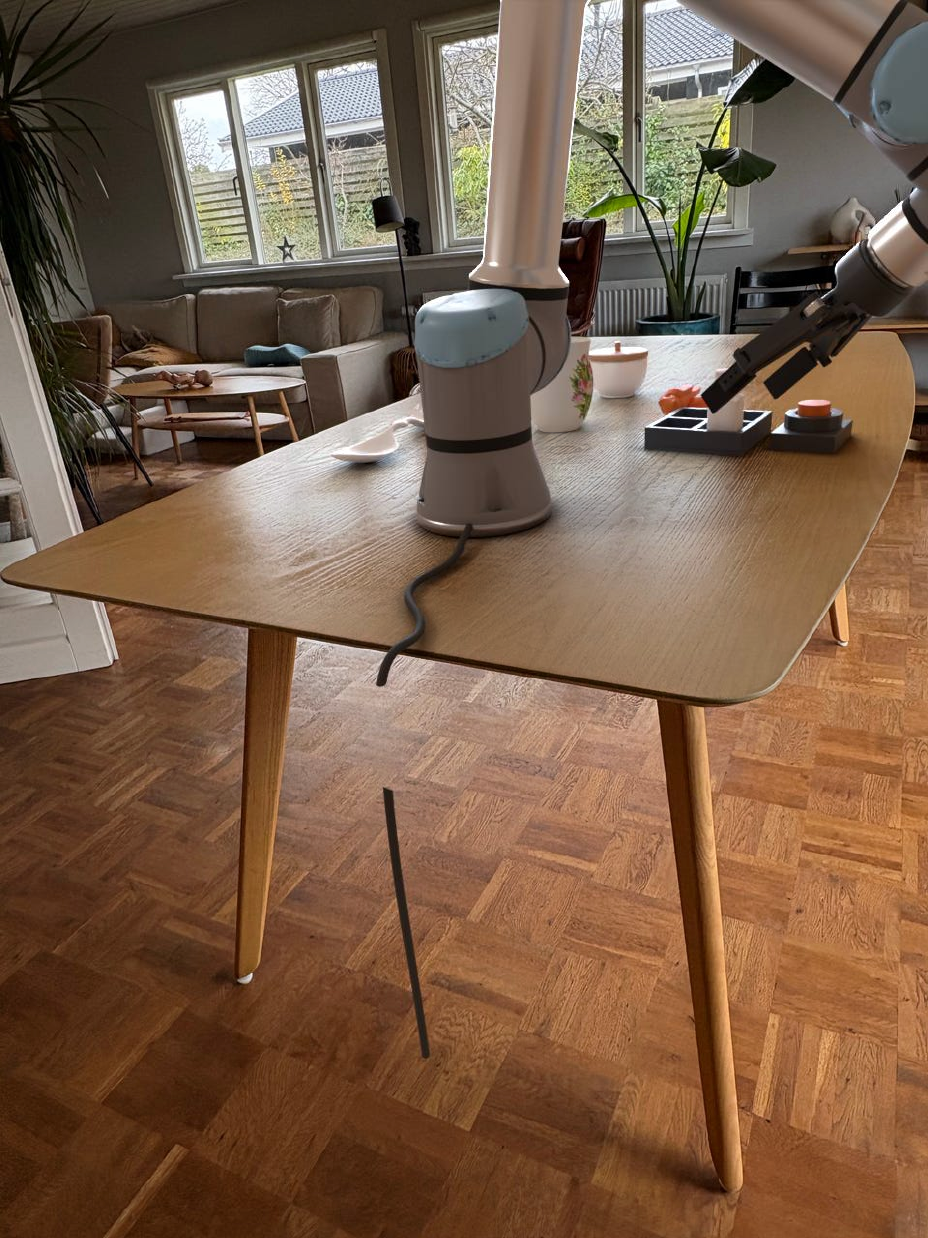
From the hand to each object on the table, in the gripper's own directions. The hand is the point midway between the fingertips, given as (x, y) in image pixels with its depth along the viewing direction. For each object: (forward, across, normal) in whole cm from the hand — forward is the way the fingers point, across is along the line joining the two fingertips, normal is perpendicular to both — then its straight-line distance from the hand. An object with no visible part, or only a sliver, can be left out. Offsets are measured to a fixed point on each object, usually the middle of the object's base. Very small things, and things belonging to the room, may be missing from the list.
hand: (740, 397), depth 98 cm
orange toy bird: (+20, +19, +9) cm, 29 cm away
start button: (+1, +15, -4) cm, 15 cm away
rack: (+12, +9, +1) cm, 15 cm away
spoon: (+42, -16, +27) cm, 52 cm away
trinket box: (+36, +29, +24) cm, 52 cm away
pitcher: (+31, +6, +18) cm, 36 cm away
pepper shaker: (+9, +7, -2) cm, 11 cm away
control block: (+4, +15, -7) cm, 17 cm away
